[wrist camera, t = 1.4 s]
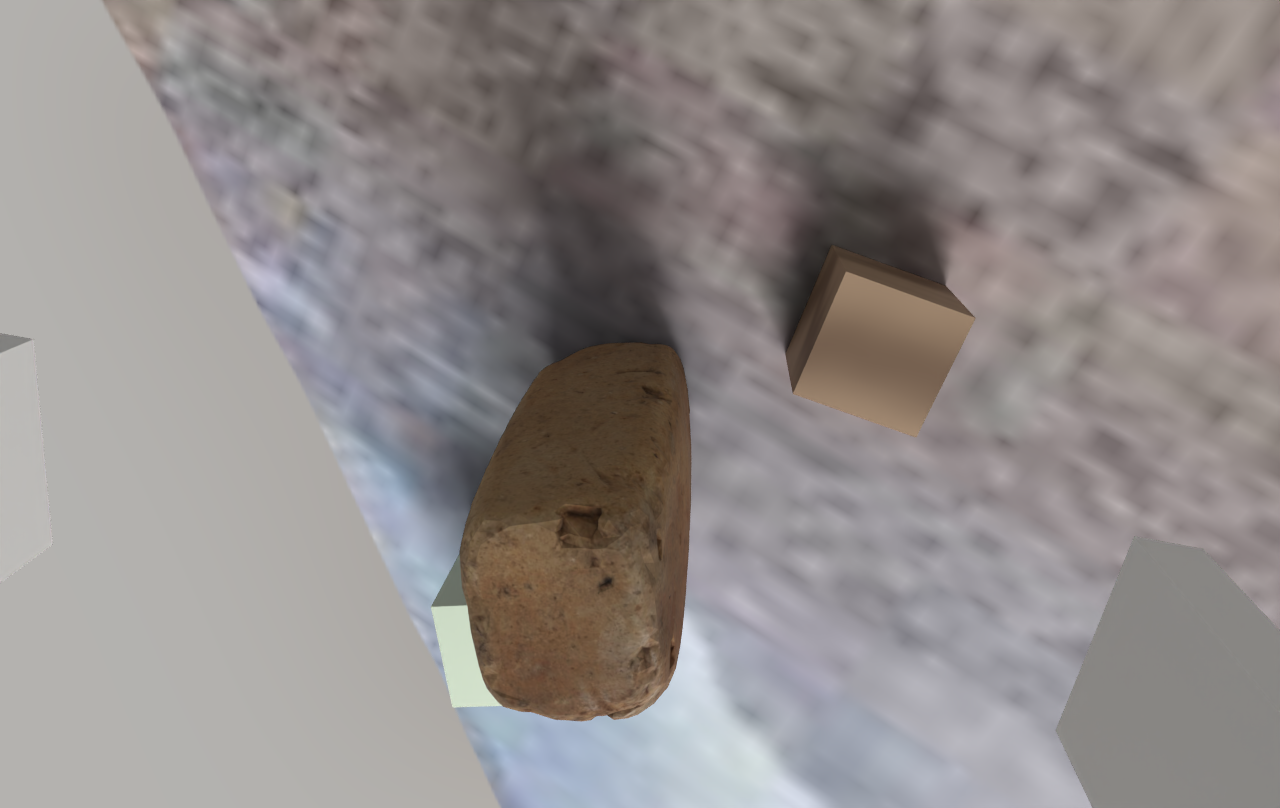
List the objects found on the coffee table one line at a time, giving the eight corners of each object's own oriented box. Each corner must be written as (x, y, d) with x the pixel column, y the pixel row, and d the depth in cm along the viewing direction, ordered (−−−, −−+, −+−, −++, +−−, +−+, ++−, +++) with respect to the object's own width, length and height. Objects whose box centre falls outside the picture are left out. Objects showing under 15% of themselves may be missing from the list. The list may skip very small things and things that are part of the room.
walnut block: (831, 244, 46) (845, 271, 40) (945, 285, 46) (975, 318, 40) (785, 353, 48) (792, 393, 42) (894, 392, 48) (916, 437, 42)
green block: (472, 529, 53) (431, 607, 45) (576, 523, 52) (550, 601, 45) (489, 618, 55) (452, 707, 48) (589, 614, 54) (567, 703, 47)
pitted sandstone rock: (546, 333, 48) (431, 509, 30) (689, 326, 48) (665, 504, 29) (566, 518, 52) (476, 778, 33) (700, 516, 51) (683, 780, 33)
